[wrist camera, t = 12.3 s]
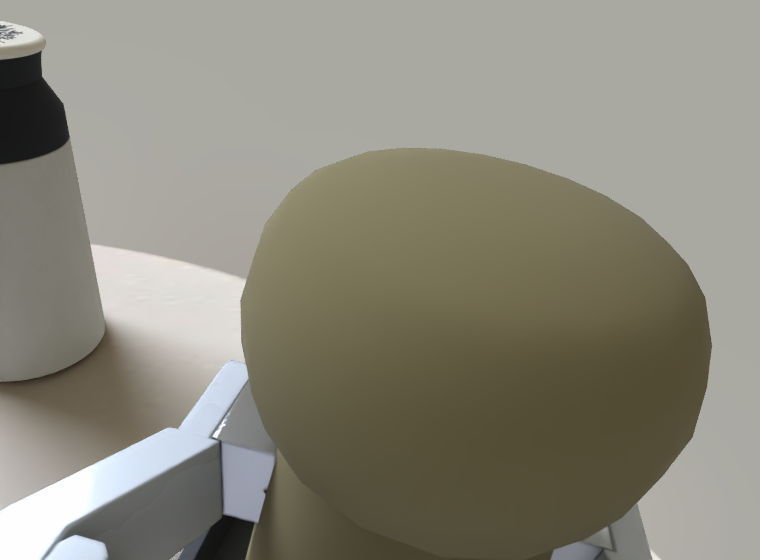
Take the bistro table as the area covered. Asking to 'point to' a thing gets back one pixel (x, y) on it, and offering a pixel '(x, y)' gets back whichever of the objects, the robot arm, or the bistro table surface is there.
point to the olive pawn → (463, 360)
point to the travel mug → (40, 224)
